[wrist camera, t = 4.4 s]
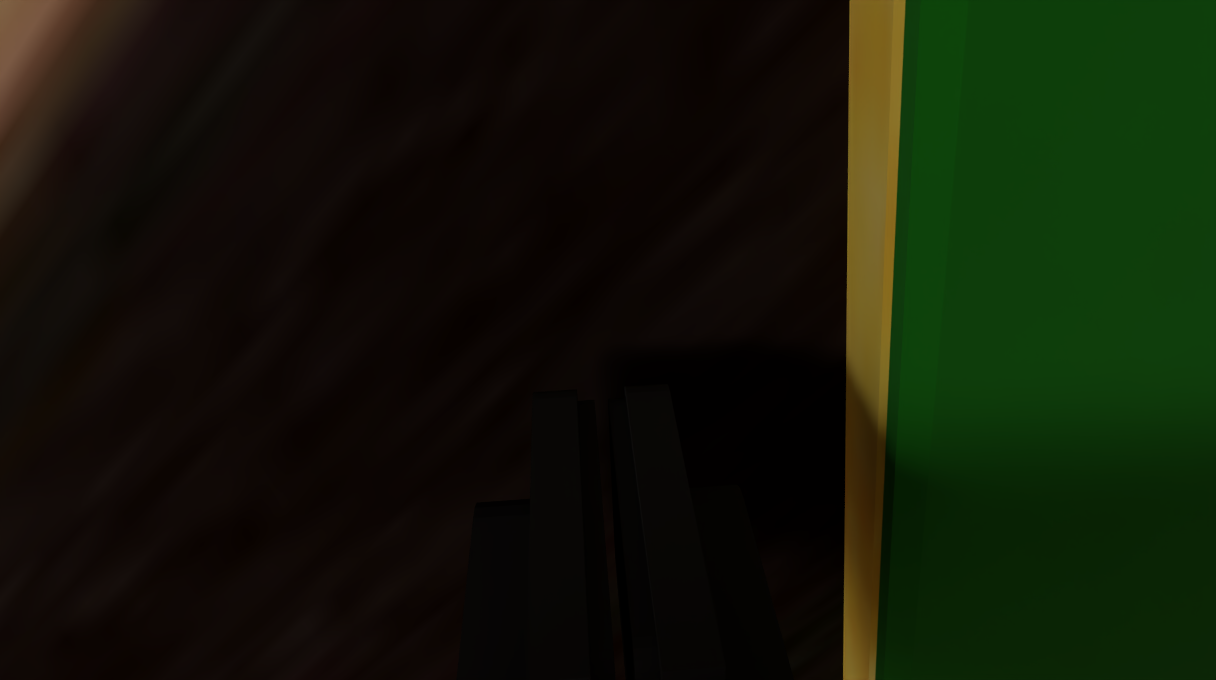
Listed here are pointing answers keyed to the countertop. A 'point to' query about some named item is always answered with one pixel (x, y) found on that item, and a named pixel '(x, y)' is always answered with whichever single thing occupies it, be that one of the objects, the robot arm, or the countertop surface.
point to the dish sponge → (1031, 341)
